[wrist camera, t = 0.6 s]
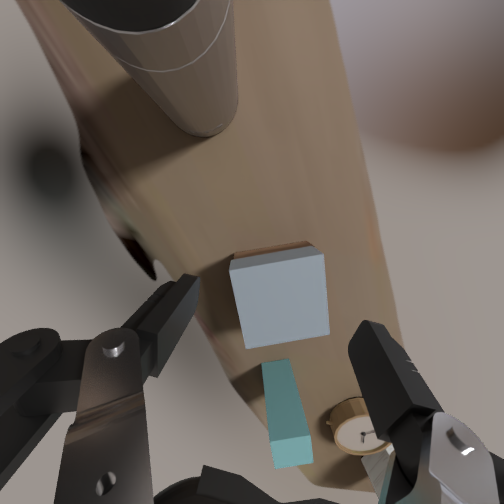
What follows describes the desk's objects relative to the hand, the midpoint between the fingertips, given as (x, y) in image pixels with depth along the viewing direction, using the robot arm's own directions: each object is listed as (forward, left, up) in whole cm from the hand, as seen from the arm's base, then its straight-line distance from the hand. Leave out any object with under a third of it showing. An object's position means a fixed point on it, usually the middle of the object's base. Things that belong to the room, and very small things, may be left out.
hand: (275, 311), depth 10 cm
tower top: (+8, +2, -17) cm, 19 cm away
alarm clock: (+40, +16, -21) cm, 48 cm away
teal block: (+26, 0, -21) cm, 33 cm away
